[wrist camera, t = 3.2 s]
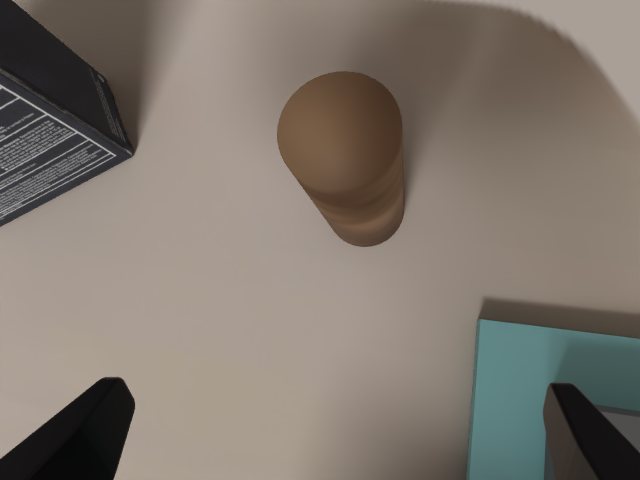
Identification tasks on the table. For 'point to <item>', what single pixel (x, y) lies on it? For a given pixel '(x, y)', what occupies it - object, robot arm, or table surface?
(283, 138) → the peg
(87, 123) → the small box
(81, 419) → the robot arm
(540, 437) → the docking socket
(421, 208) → the table surface
